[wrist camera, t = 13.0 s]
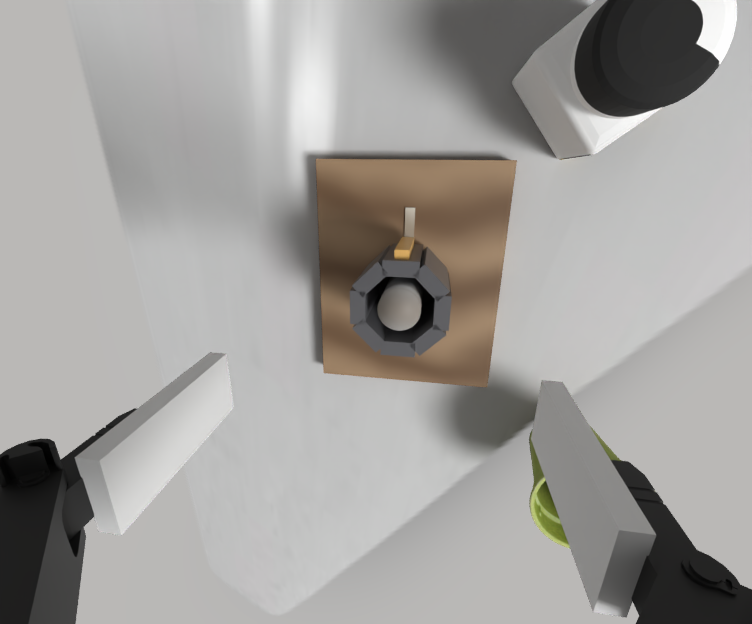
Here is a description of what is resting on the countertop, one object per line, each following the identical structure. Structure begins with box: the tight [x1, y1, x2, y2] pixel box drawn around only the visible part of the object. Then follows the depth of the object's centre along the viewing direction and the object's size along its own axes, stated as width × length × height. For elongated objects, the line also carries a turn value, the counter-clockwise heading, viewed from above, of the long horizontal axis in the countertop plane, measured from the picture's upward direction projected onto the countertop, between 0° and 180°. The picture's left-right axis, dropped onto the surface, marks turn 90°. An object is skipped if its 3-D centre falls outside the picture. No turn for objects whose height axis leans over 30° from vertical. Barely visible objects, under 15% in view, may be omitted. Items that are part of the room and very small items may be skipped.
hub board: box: [316, 159, 517, 387], centre depth 30 cm, size 20×16×10 cm
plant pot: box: [529, 427, 621, 548], centre depth 34 cm, size 9×9×9 cm
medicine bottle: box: [512, 0, 737, 160], centre depth 22 cm, size 7×7×12 cm
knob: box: [350, 237, 452, 357], centre depth 29 cm, size 7×8×7 cm
